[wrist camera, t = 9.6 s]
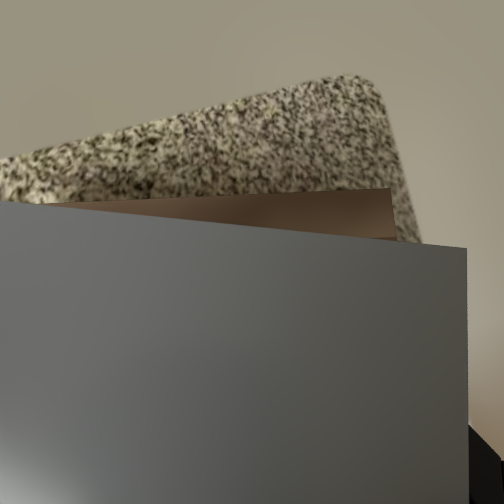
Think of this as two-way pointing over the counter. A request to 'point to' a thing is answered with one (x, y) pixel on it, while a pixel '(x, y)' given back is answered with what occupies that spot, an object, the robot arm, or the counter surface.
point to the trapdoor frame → (273, 211)
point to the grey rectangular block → (227, 364)
